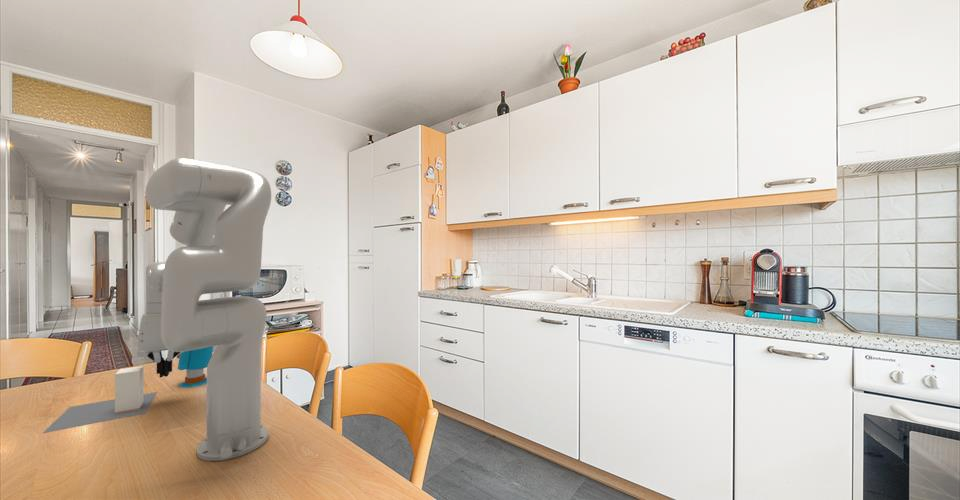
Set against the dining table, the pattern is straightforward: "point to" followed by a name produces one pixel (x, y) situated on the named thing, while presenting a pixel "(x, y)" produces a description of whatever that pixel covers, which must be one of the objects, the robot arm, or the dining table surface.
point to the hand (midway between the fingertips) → (164, 375)
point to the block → (129, 389)
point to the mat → (96, 413)
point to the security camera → (194, 366)
